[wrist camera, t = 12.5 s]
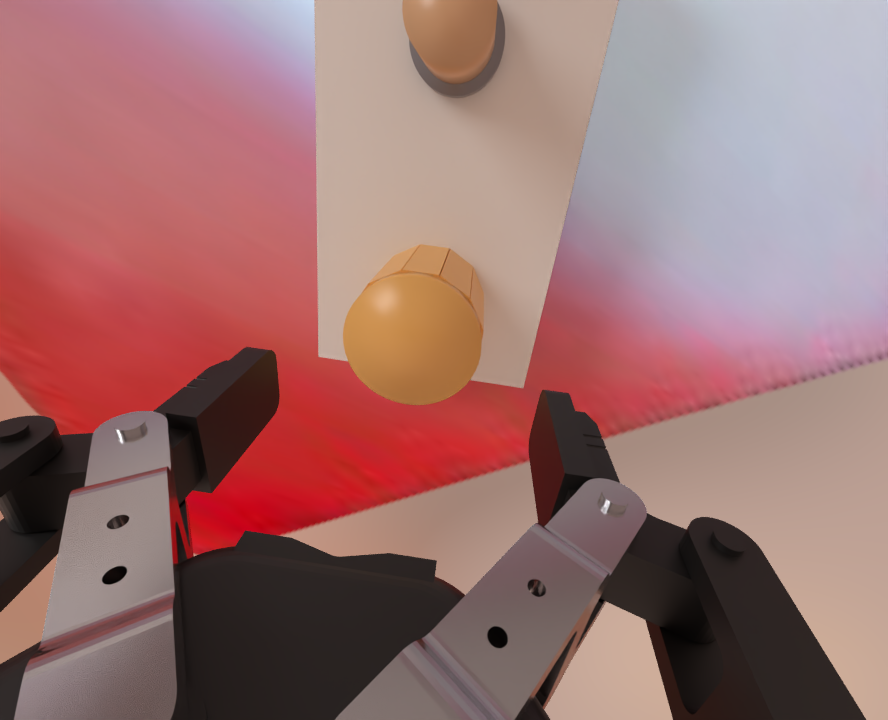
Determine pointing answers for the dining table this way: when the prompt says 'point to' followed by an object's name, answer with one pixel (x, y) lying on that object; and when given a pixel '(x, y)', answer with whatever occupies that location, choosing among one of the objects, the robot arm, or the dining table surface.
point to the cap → (417, 327)
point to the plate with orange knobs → (452, 149)
